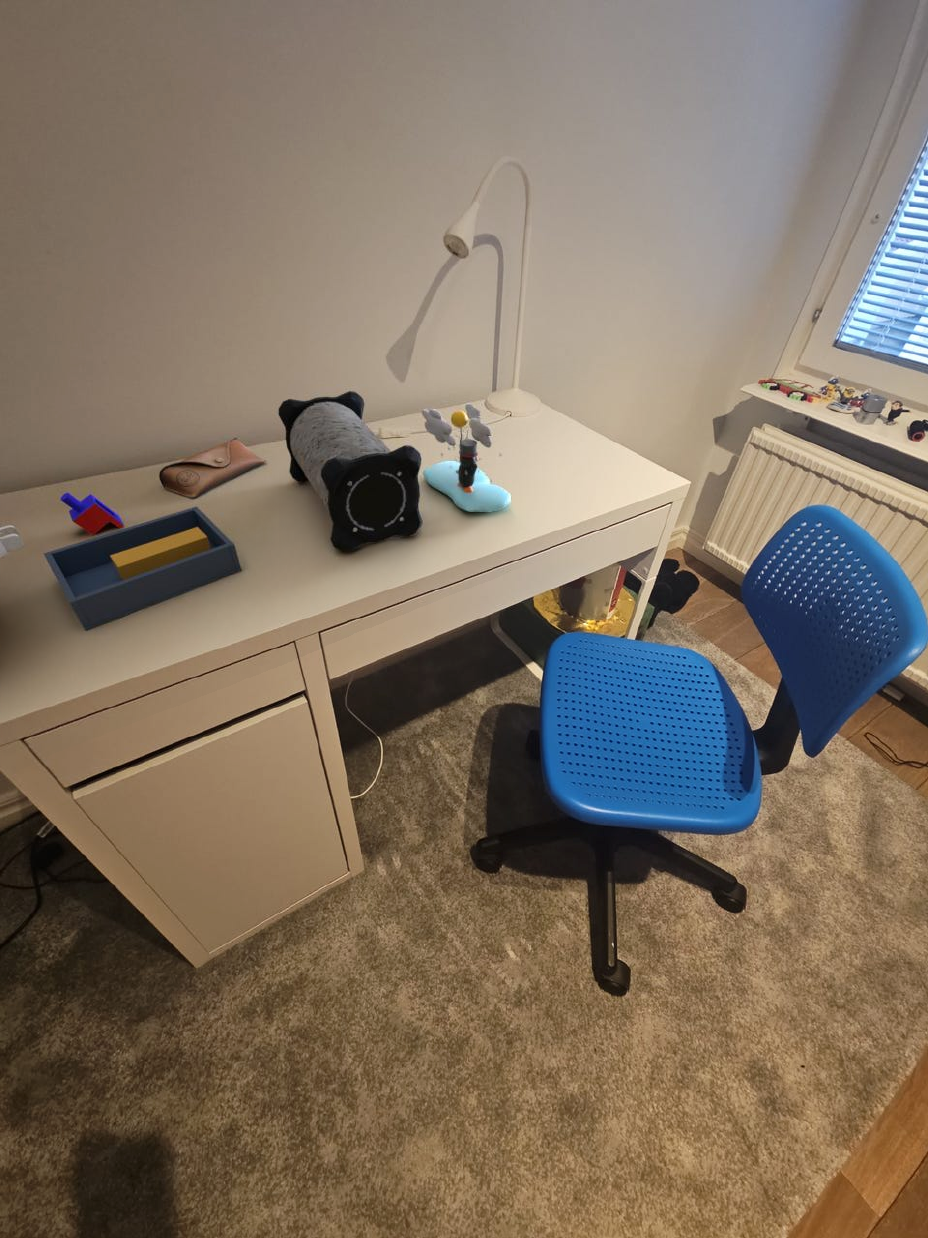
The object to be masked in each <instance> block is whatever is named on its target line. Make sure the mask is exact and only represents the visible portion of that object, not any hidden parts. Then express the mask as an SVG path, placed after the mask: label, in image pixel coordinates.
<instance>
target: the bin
mask: <svg viewBox="0 0 928 1238" xmlns="http://www.w3.org/2000/svg"><path fill="white" fill-rule="evenodd" d="M196 527H198V528H199V529H200V530H201V531H202V532H203V533H204V534H205V535H206V536H207V538H208V541H209V544H210V547H211V549H210V550H208V551H205V552H202V553H199V554H196V555H193V556H191V557H188V558H185V559H182V560H179V561H176V562H174V563H171V564H168V565H165V566H162V567H159V568H157V569H154V570H151V571H148V572H145V573H143V574H140V575H137V576H134V577H131V578H128V579H126V580H122V579H121V577H120V576H119V574H118V572H117V569H116V567H115V565H114V563H113V561H112V559H111V557H110V555H113V554H116V553H119V552H123V551H126V550H129V549H132V548H135V547H138V546H141V545H144V544H147V543H150V542H153V541H156V540H159V539H162V538H165V537H168V536H171V535H174V534H177V533H181V532H184V531H187V530H190V529H193V528H196ZM43 556H44V557H45V559H46V561H47V563H48V565H49V567H50V569H51V571H52V573H53V575H54V576H55V579H56V580H57V582H58V584H59V586H60V588H61V590H62V592H63V593H64V595H65V597H66V599H67V601H68V604H69V605H70V606H71V608H72V610H73V612H74V614H75V615H76V617H77V618H78V621H79V623H80V624H81V625H82V627H83V629H84V630H85V631H89V630H91V629H95V628H96V627H100V626H101V625H104V624H107V623H110V622H112V621H114V620H117V619H121V618H123V617H125V616H127V615H131V614H133V613H136V612H138V611H141V610H144V609H147V608H148V607H151V606H153V605H154V606H155V605H156V604H160V603H161V602H162V603H163V601H167V600H170V599H172V598H174V597H177V596H180V595H182V594H185V593H188V592H190V591H192V590H195V589H198V588H200V587H202V586H206V585H208V584H211V583H213V582H215V581H218V580H221V579H223V578H226V577H229V576H231V575H234V574H237V573H239V572H241V571H242V566H241V562H240V559H239V556H238V553H237V549H236V546H235V543H234V542H233V541H232V540H231V539H230V538H229V537H227V535H226V534H225V533H224V532H223V531H222V530H221V529H220V528H219V527H218V526H217V525H216V524H215V523H214V522H213V521H212V520H211V519H210V518H209V517H208V516H207V515H206V514H205V513H204V512H203V511H202V510H201V509H200V508H199V507H198V506H193V507H190V508H187V509H183V510H180V511H177V512H174V513H170V514H167V515H163V516H161V517H158V518H154V519H150V520H148V521H145V522H141V523H138V524H135V525H132V526H128V527H125V528H122V529H121V528H120V529H119V530H115V531H112V532H109V533H105V534H103V535H99V536H96V537H92V538H90V539H89V538H88V539H86V540H83V541H80V542H76V543H73V544H70V545H67V546H63V547H60V548H56V549H54V550H51V551H47V552H44V553H43Z"/></svg>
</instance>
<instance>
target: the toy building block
mask: <svg viewBox="0 0 928 1238" xmlns="http://www.w3.org/2000/svg"><path fill="white" fill-rule="evenodd" d="M59 499H60V501H61V502H62V503H64V504H65V505H67V506H68V507H69V508H70V510H69V511H68V513H69V515H70V518H71V521H72V522H73V523H74V524H76V525H77V526H79V527H80V529H83V530H84V531H86V532H87V533H88V534H90V535H91V536H94V535H95V534H97V533H98V532H99V531H100V530H102V529H103V528H104V527H105V526H107V525H108V524H109V523H112V524H113V525H114V526H116V527H117V528H118V529H121V528H122V527H123V526H124V522H123V521H122V518H121V516H120V515H119V514H118V513H116V512H115V511H114V510H113V509H112V508H110V507H109V506H108V505H106V504H104V503H103V502H102V501H101V500H100V499H98V498H97V497H95V496H94V495H93V494H92V493H89V494H88V495H87V496H86V497H84V498H83V499H82V500H79V499H77V498H76V497H75V496H73V494H71V493H70V492H65V493H64V494H62V496H61V497H60V498H59Z"/></svg>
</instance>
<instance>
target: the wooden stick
mask: <svg viewBox="0 0 928 1238" xmlns="http://www.w3.org/2000/svg"><path fill="white" fill-rule="evenodd" d="M210 549H211V547H210V544H209V541H208V538H207V536H206V535H205V534H204V533H203V532H202V531H201V530H200V529H199V528H198V527H196V528H193V529H190V530H187V531H184V532H181V533H177V534H174V535H171V536H168V537H165V538H162V539H159V540H156V541H153V542H150V543H147V544H144V545H141V546H138V547H135V548H132V549H129V550H126V551H123V552H119V553H116V554H113V555H110V557H111V559H112V561H113V563H114V565H115V567H116V569H117V572H118V574H119V576H120V577H121V579H122V580H126V579H128V578H131V577H134V576H137V575H140V574H143V573H145V572H148V571H151V570H154V569H157V568H159V567H162V566H165V565H168V564H171V563H174V562H176V561H179V560H182V559H185V558H188V557H191V556H193V555H196V554H199V553H202V552H205V551H208V550H210Z"/></svg>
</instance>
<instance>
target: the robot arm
mask: <svg viewBox="0 0 928 1238" xmlns="http://www.w3.org/2000/svg"><path fill="white" fill-rule="evenodd" d="M24 546H25V545H24V541H23V540H22V538H21V535H20V534H19V532H18V530H17V529H16V527H15V526H13V525H12V524H11V525H10V524H8V525H5V526H1V527H0V559H1V558H3V557H4V556H5V555H7V554H8V553H12V552H14V551H17V550H21V549H22V548H24Z"/></svg>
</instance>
